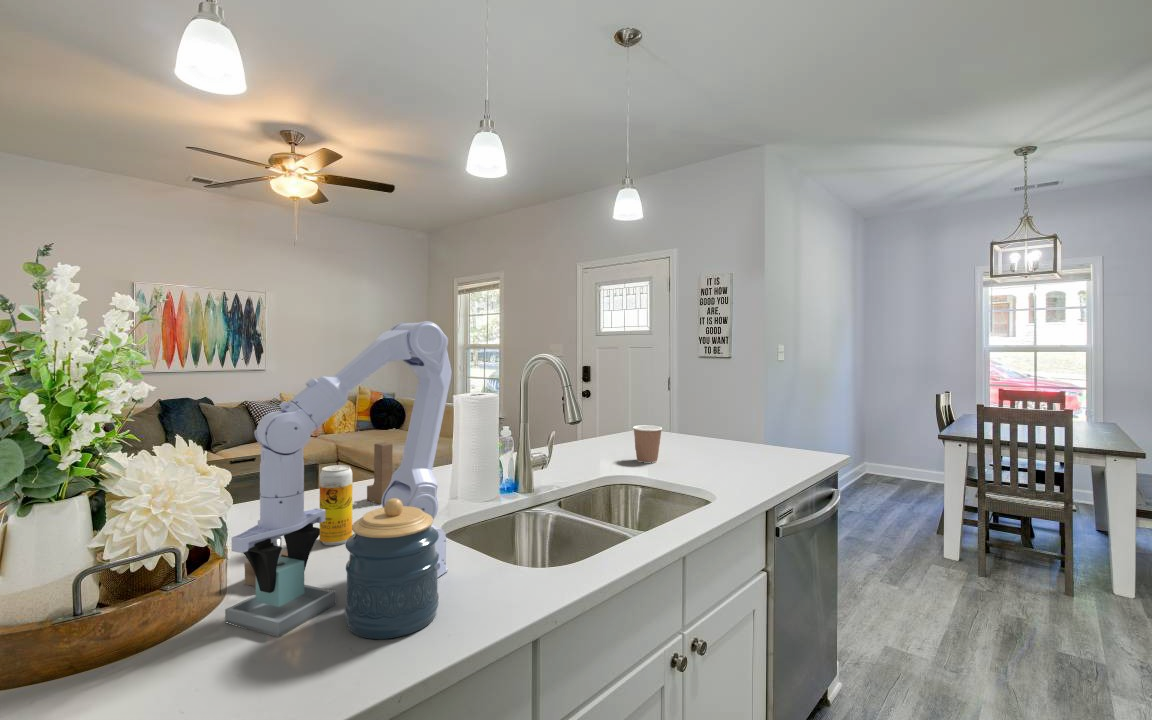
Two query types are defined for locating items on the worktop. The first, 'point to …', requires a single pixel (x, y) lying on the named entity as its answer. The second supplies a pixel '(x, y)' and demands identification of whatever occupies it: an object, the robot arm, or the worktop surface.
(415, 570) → the canister
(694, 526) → the worktop surface
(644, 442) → the coffee cup
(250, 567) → the brown wooden square frame
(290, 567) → the teal block
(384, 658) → the worktop surface
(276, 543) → the cylinder
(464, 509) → the worktop surface
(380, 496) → the wooden block
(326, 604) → the tray
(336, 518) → the beer can
